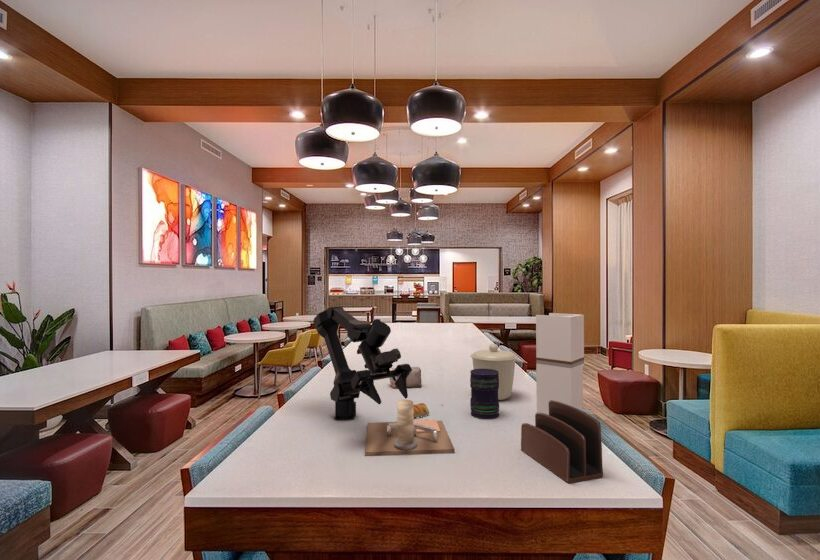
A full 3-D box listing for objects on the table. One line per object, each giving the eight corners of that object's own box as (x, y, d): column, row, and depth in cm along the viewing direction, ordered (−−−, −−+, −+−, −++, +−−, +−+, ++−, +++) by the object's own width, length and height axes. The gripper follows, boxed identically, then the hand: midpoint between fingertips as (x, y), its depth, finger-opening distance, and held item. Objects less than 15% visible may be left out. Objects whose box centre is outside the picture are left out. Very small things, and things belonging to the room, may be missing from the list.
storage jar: (481, 421, 138) (481, 375, 138) (464, 413, 146) (464, 370, 146) (505, 416, 142) (505, 372, 142) (487, 408, 151) (487, 367, 151)
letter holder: (551, 446, 117) (551, 396, 117) (603, 478, 98) (603, 418, 98) (520, 450, 114) (519, 399, 114) (567, 484, 95) (567, 422, 95)
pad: (407, 433, 124) (407, 431, 124) (405, 422, 134) (405, 420, 134) (440, 432, 125) (440, 430, 125) (436, 421, 135) (436, 419, 135)
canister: (523, 395, 169) (523, 342, 169) (508, 406, 153) (507, 349, 153) (481, 389, 178) (481, 339, 178) (463, 399, 163) (463, 345, 163)
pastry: (410, 421, 138) (410, 410, 138) (397, 416, 143) (397, 405, 143) (430, 415, 144) (430, 404, 144) (417, 411, 150) (417, 400, 150)
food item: (391, 389, 178) (391, 366, 178) (388, 385, 186) (388, 363, 186) (422, 388, 180) (422, 365, 180) (419, 383, 188) (418, 361, 188)
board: (365, 455, 111) (365, 452, 111) (367, 425, 134) (367, 422, 134) (454, 452, 113) (454, 449, 113) (441, 423, 136) (441, 420, 136)
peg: (394, 450, 112) (394, 405, 112) (393, 441, 118) (393, 399, 118) (418, 449, 112) (417, 405, 112) (416, 440, 119) (415, 398, 119)
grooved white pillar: (584, 421, 136) (583, 314, 136) (571, 430, 129) (570, 316, 129) (550, 414, 144) (550, 312, 144) (536, 422, 136) (536, 314, 136)
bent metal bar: (386, 436, 122) (386, 424, 122) (391, 432, 125) (390, 420, 125) (436, 442, 117) (436, 430, 117) (440, 438, 120) (439, 425, 120)
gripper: (355, 343, 118) (376, 390, 109) (408, 337, 130) (431, 379, 121) (342, 366, 125) (361, 412, 116) (393, 359, 136) (415, 400, 127)
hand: (393, 400), depth 120 cm, fingers open, 9 cm apart
